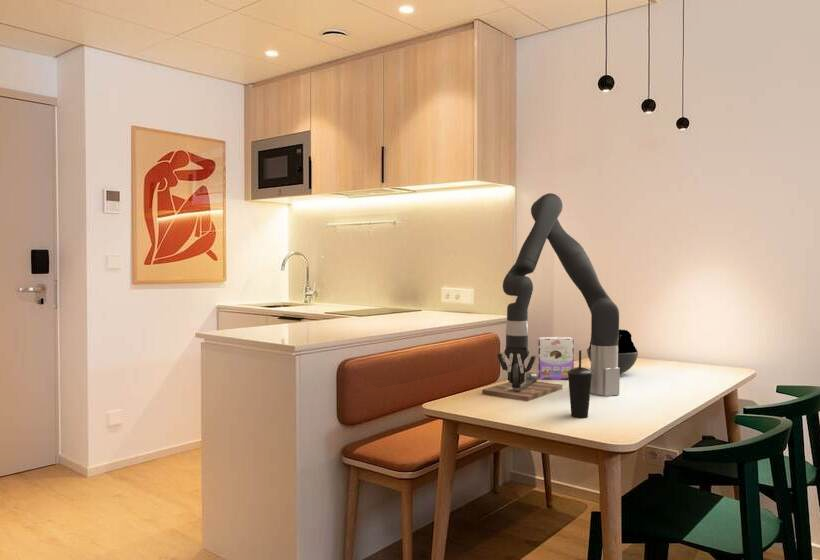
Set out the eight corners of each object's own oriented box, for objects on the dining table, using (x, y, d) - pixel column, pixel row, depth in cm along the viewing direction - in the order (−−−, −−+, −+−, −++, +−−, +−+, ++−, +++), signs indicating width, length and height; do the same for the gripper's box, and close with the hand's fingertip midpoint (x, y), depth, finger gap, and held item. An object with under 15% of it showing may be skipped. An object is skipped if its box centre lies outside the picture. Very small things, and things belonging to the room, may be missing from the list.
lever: (527, 379, 242) (527, 353, 241) (537, 380, 240) (538, 354, 239) (509, 390, 221) (509, 362, 221) (520, 391, 220) (520, 362, 219)
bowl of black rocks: (642, 379, 252) (642, 332, 251) (589, 378, 255) (590, 331, 255) (632, 370, 272) (633, 326, 271) (584, 369, 275) (584, 325, 274)
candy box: (571, 377, 257) (571, 336, 256) (573, 380, 251) (574, 338, 250) (536, 376, 258) (536, 336, 258) (538, 379, 252) (538, 338, 252)
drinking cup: (588, 413, 198) (588, 348, 197) (596, 419, 190) (596, 352, 190) (563, 413, 198) (564, 348, 197) (570, 419, 190) (571, 352, 189)
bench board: (518, 382, 246) (518, 378, 246) (562, 388, 234) (562, 384, 234) (482, 394, 225) (482, 389, 225) (527, 401, 214) (527, 396, 214)
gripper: (539, 333, 222) (539, 383, 222) (500, 331, 228) (499, 379, 228) (534, 335, 215) (533, 387, 215) (494, 333, 221) (493, 383, 221)
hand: (516, 382), depth 222 cm, fingers closed on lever, 3 cm apart
